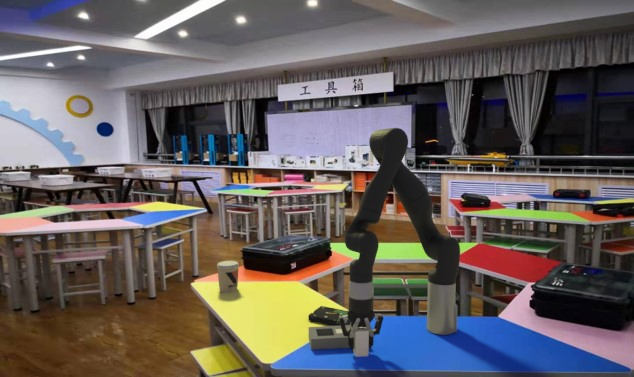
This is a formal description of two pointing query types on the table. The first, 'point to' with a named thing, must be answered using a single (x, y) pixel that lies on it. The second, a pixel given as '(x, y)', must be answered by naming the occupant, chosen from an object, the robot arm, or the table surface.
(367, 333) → the cream rectangular block
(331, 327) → the power strip
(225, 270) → the coffee cup
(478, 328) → the table surface
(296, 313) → the table surface
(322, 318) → the disk drive
